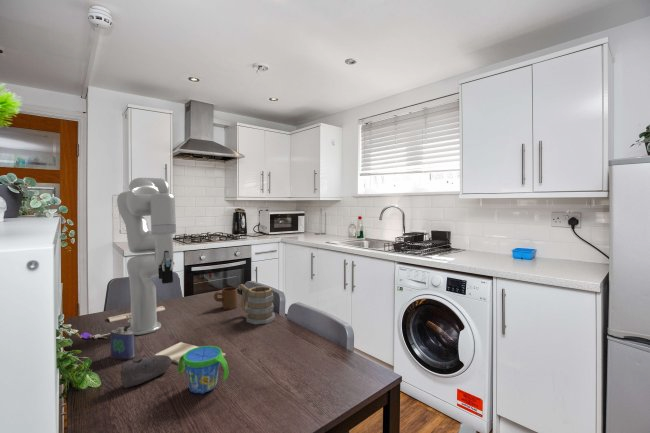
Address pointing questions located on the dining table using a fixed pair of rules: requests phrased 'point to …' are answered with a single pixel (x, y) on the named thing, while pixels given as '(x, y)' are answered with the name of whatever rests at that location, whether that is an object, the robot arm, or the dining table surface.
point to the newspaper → (129, 315)
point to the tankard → (258, 304)
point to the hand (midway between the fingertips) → (165, 280)
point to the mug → (227, 297)
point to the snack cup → (203, 368)
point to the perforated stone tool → (144, 369)
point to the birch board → (178, 351)
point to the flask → (122, 344)
